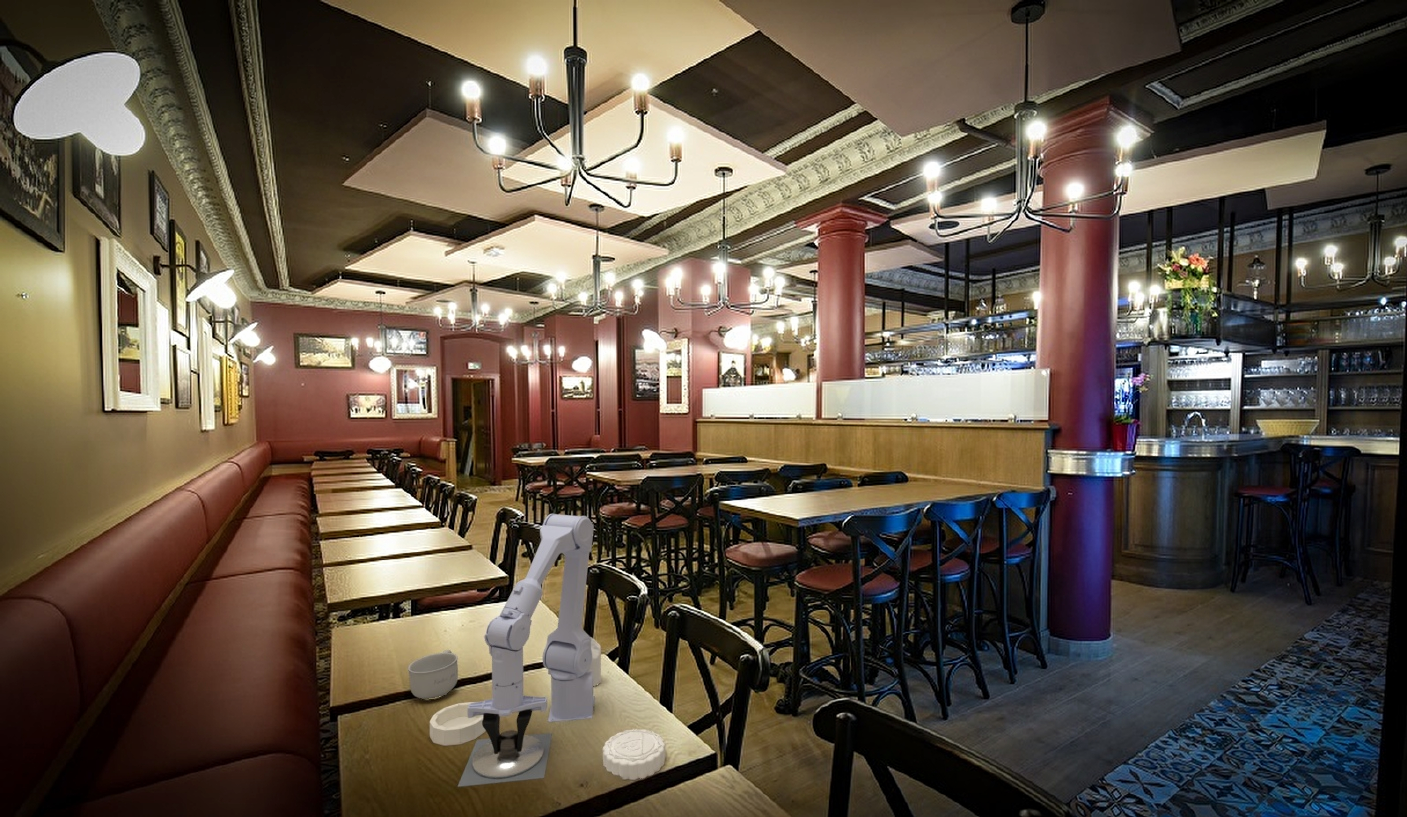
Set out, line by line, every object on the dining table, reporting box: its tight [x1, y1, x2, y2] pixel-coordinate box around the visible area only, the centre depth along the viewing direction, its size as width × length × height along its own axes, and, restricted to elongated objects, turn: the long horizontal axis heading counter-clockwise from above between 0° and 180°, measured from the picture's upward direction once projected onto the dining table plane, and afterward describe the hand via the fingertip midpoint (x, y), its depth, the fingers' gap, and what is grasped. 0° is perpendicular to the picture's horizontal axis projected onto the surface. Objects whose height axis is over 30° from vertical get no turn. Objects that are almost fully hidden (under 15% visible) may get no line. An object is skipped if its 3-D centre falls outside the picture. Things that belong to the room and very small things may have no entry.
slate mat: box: [457, 732, 554, 788], centre depth 113 cm, size 15×15×1 cm
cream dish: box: [429, 701, 486, 747], centre depth 123 cm, size 11×11×4 cm
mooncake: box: [602, 728, 666, 781], centre depth 112 cm, size 12×12×4 cm
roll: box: [588, 636, 602, 687], centre depth 145 cm, size 6×12×6 cm
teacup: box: [407, 649, 459, 700], centre depth 141 cm, size 14×11×8 cm
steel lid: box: [472, 730, 544, 779], centre depth 113 cm, size 13×13×4 cm
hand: (508, 750), depth 113 cm, fingers closed on steel lid, 4 cm apart
